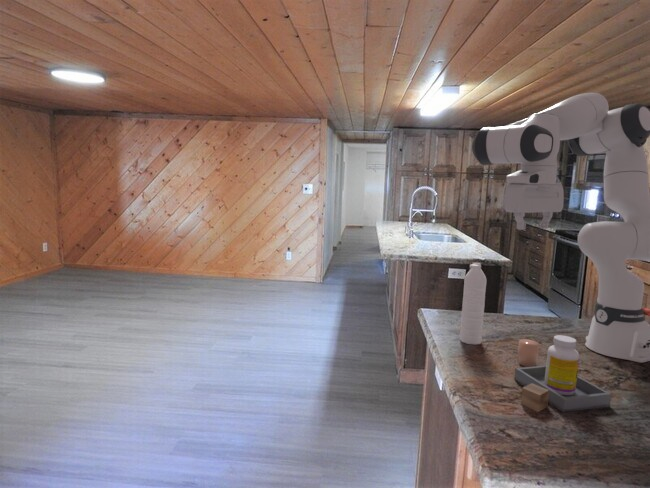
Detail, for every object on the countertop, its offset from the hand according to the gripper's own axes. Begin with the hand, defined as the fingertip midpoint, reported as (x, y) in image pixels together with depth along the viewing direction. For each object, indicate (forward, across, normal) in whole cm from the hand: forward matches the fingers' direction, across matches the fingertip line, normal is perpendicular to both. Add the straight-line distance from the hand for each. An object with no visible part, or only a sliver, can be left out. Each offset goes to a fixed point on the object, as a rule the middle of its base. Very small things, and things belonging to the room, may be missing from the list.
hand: (532, 229), depth 117 cm
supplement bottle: (+37, +9, +18) cm, 42 cm away
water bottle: (+37, +3, -15) cm, 40 cm away
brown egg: (+37, +1, +3) cm, 37 cm away
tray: (+37, +8, +18) cm, 42 cm away
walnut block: (+37, +20, +19) cm, 46 cm away
